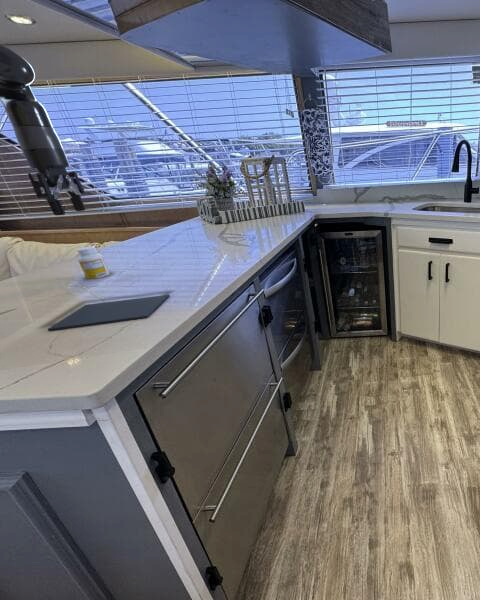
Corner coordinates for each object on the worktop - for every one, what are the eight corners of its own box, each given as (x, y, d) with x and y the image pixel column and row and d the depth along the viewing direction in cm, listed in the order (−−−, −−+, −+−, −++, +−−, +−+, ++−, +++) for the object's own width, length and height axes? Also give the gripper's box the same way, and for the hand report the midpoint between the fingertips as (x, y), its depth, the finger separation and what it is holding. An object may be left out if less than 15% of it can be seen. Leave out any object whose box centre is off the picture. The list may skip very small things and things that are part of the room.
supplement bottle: (93, 277, 99) (80, 247, 95) (114, 275, 101) (101, 245, 97) (84, 283, 94) (69, 251, 91) (105, 280, 96) (92, 249, 92)
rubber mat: (48, 331, 66) (47, 329, 66) (86, 306, 78) (85, 304, 78) (147, 317, 70) (147, 315, 70) (169, 296, 82) (169, 294, 82)
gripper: (45, 149, 87) (72, 210, 93) (-1, 146, 74) (34, 217, 81) (77, 148, 88) (102, 208, 95) (39, 145, 76) (70, 215, 82)
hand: (71, 212), depth 88 cm, fingers open, 8 cm apart
